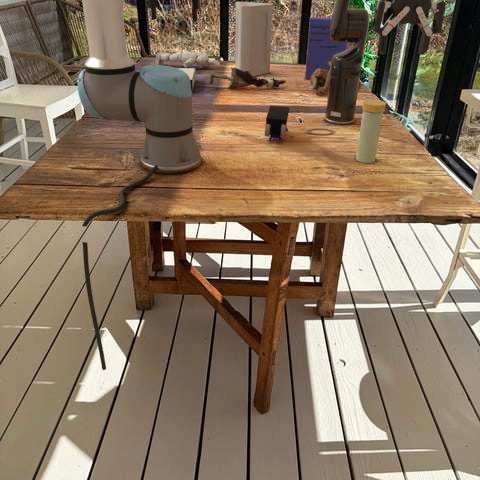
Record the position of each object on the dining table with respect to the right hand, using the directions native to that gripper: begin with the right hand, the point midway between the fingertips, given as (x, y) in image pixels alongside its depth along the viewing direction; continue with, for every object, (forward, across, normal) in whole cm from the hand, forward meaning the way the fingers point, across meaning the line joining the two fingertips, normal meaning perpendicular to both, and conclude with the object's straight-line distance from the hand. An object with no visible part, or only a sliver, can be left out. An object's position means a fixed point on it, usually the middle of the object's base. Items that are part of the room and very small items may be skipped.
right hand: (401, 54), depth 104 cm
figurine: (+29, +30, -87) cm, 96 cm away
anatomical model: (+29, +2, -82) cm, 87 cm away
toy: (+29, +57, -125) cm, 140 cm away
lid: (+14, +1, -10) cm, 17 cm away
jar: (+28, +1, -10) cm, 30 cm away
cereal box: (+29, -4, -105) cm, 109 cm away
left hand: (0, +55, -58) cm, 80 cm away
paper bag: (+29, +27, -116) cm, 123 cm away
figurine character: (+28, +24, -28) cm, 46 cm away
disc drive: (+29, +61, -88) cm, 111 cm away
